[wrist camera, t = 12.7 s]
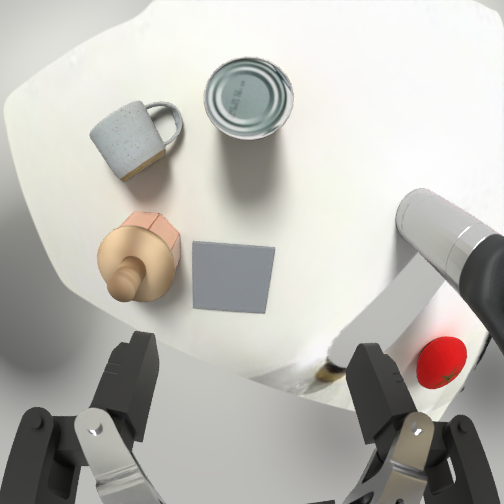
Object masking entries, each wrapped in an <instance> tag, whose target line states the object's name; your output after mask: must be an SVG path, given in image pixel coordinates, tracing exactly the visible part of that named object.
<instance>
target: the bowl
mask: <svg viewBox="0 0 504 504" xmlns="http://www.w3.org/2000/svg"><path fill="white" fill-rule="evenodd" d="M127 225H134V226H140V227H144V228H146V229H149V230H151V231H152V232H154V233H155V234H157V235H158V236H159V237H161V238H162V239H163V240H164V242H165V243H166V244H167V245H168V247H169V248H170V250H171V252H172V254H173V257H174V261H175V270H176V267H177V264H178V262H179V259H180V234H179V232H178V231H177V230H176V229H175V228H174V227H173V226H172V225H171V224H170V223H169V222H168V221H167V220H166V219H165V218H164V217H163V216H162V215H161V214H160V215H159V213H145V212H134V213H132V214H131V215H130V216H129V217H128V218H127V219H126V220H125V221H124V223H123V224H122V225H121V226H120V227H122V226H127Z"/></svg>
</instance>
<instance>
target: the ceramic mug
mask: <svg viewBox="0 0 504 504" xmlns="http://www.w3.org/2000/svg"><path fill="white" fill-rule="evenodd" d="M156 106H165V107H168V108H169V109H170V110H171V111H172V113H173V116H174V118H175V124H176V125H177V131H176V133H175V135H174V136H173V137H172V138H171V139H170V140H168V141H167V142H163V141H162V139H161V137H160V135H159V133H158V131H157V130H156V128H155V126H154V124H153V122H152V120H151V118H150V116H149V114H148V112H147V109H149V108H152V107H156ZM182 123H183V121H182V117H181V114H180V112H179V110H178V109H177V107H176V106H174V105H173V104H171V103H168V102H162V101H161V102H154V103H151V104H148V105H144V104H143V103H142V102H141V101H135V102H132V103H130V104H127V105H125V106H123V107H121V108H120V109H118V110H116V111H114V112H113V113H111V114H110V115H108V116H107V117H106V118H104V119H103V120H102V121H101V122H100V123H98V124H97V125H96V126H95V127H94V128H93V129H92V130H91V132H90V138H91V140H92V141H93V143H94V144H95V145H96V147H97V149H98V150H99V152H100V153H101V155H102V156H103V158H104V159H105V161H106V162H107V164H108V165H109V167H110V168H111V170H112V171H113V172H114V174H115V175H116V176H117V177H118V178H119V179H120V180H122V181H127V180H129V179H131V178H132V177H134V176H135V175H137V174H138V173H140V172H141V171H142V170H144V169H145V168H147V167H148V166H150V165H151V164H153V163H154V162H156V161H157V160H159V159H160V158H162V157H163V156H164V155H165V151H166V150H165V146H166V145H168V144H169V143H171V142H172V141H173V140H174V139H175V138H176V137H177V136H178V135H179V133H180V132H181V129H182Z"/></svg>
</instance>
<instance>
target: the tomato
mask: <svg viewBox="0 0 504 504" xmlns="http://www.w3.org/2000/svg"><path fill="white" fill-rule="evenodd" d="M466 359H467V350H466V347H465V345H464V343H463V342H462V341H461V340H460V339H457V338H454V337H441V338H438V339H436V340H434V341H432V342H431V343H429V344H428V345H427V346H426V347H425V348H424V350H423V351H422V353H421V354H420V357H419V359H418V362H417V370H416V372H417V379H418V382H419V383H420V384H421V385H422V386H423V387H425V388H428V389H437V388H440V387H443V386H445V385H447V384H448V383H450V382H451V381H453V380H454V379H455V378H456V377H457V376H458V374H459V373H460V372H461V370H462V369H463V367H464V365H465V363H466Z"/></svg>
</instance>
